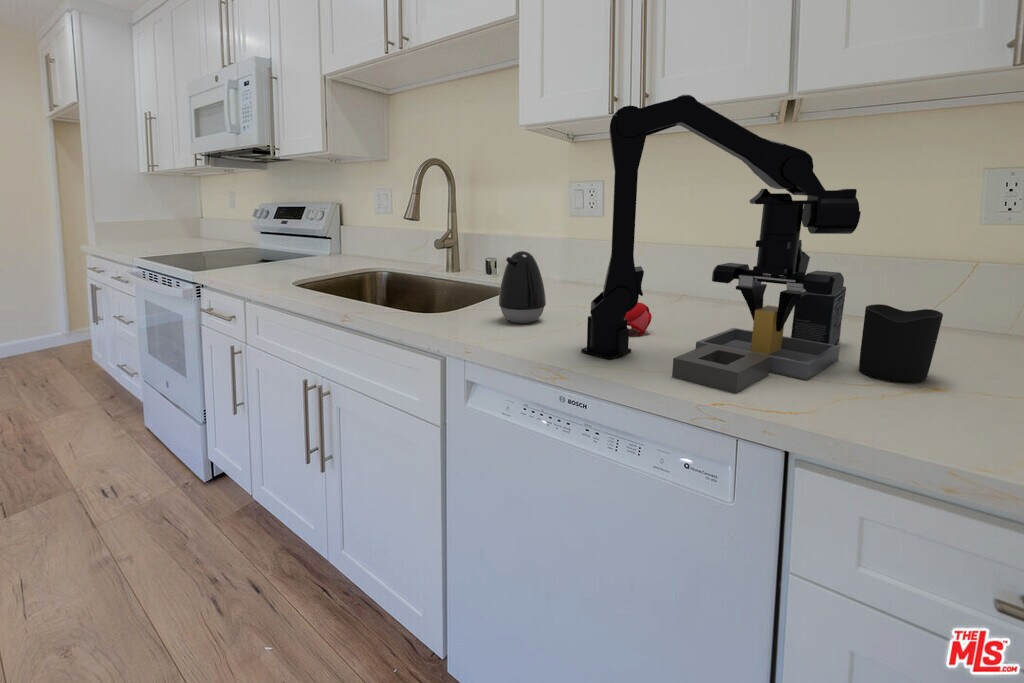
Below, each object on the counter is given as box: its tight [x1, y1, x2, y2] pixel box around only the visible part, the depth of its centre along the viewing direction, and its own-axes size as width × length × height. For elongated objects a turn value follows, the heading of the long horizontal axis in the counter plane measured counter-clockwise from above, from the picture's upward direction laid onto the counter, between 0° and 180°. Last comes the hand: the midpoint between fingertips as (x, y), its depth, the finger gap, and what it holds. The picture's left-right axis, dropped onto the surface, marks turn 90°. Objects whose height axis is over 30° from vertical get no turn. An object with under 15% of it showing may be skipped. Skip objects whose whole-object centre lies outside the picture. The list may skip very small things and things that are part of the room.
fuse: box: [751, 305, 785, 355], centre depth 91 cm, size 3×5×7 cm, turn 134°
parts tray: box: [695, 327, 841, 381], centre depth 92 cm, size 18×14×2 cm
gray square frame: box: [671, 344, 771, 394], centre depth 84 cm, size 10×11×3 cm
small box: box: [790, 285, 847, 345], centre depth 98 cm, size 11×6×10 cm, turn 141°
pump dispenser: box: [498, 250, 547, 324], centre depth 119 cm, size 10×10×15 cm
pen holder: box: [858, 303, 944, 384], centre depth 83 cm, size 9×9×10 cm
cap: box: [624, 302, 653, 336], centre depth 109 cm, size 8×6×6 cm
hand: (768, 329), depth 91 cm, fingers closed on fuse, 3 cm apart
